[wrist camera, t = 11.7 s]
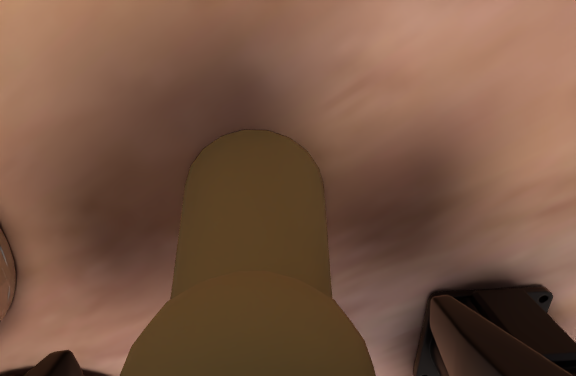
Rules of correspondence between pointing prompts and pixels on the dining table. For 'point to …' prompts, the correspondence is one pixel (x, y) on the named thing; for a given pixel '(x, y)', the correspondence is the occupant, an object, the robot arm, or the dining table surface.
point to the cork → (251, 272)
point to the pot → (6, 276)
